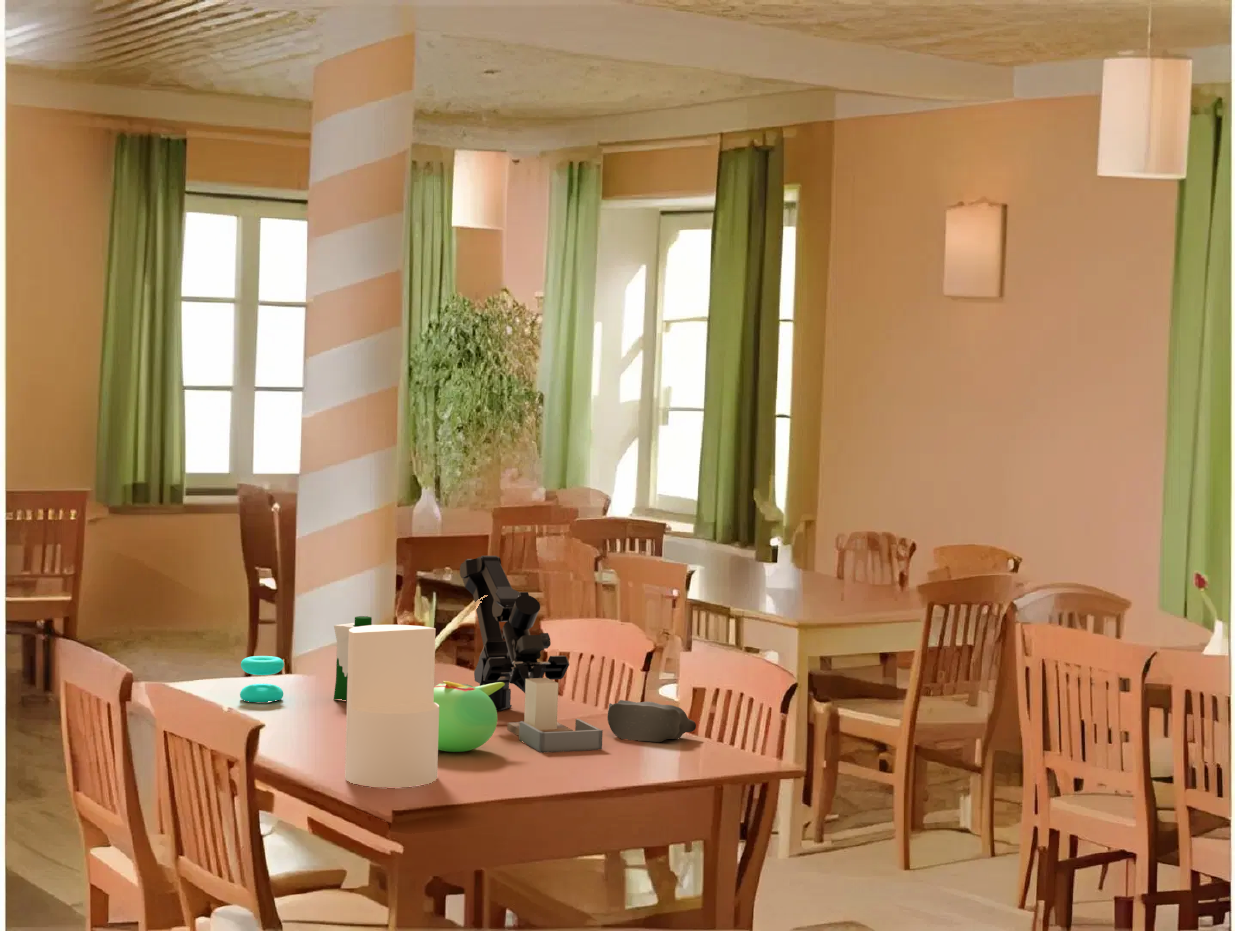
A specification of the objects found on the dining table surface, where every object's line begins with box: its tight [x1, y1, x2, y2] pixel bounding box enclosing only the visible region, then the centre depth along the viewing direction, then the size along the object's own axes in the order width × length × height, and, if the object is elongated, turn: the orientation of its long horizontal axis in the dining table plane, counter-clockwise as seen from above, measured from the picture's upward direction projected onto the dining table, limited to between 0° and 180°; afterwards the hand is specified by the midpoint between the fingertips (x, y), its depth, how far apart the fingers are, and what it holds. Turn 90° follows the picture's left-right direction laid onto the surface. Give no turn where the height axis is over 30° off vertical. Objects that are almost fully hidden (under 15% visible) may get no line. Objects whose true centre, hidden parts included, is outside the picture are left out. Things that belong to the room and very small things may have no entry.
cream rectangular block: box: [523, 677, 559, 730], centre depth 365 cm, size 7×5×10 cm
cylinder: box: [344, 624, 439, 787], centre depth 317 cm, size 17×17×28 cm
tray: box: [518, 718, 604, 754], centre depth 354 cm, size 14×14×4 cm
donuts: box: [239, 655, 285, 703], centre depth 396 cm, size 10×10×10 cm
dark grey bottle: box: [607, 699, 697, 743], centre depth 366 cm, size 18×11×8 cm, turn 65°
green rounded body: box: [434, 680, 505, 753], centre depth 345 cm, size 18×17×15 cm
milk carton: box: [333, 615, 374, 701], centre depth 400 cm, size 9×9×20 cm
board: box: [506, 721, 574, 736], centre depth 366 cm, size 12×11×2 cm
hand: (534, 699), depth 369 cm, fingers closed
